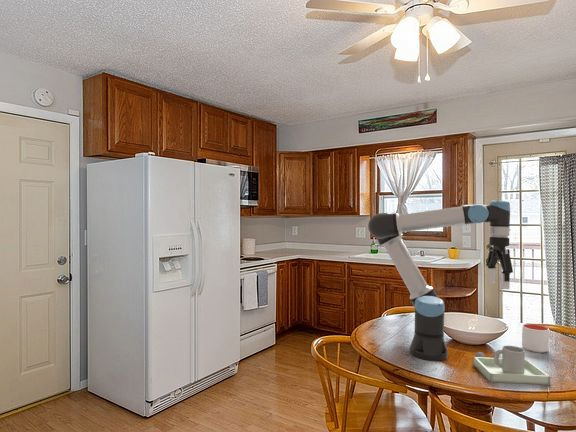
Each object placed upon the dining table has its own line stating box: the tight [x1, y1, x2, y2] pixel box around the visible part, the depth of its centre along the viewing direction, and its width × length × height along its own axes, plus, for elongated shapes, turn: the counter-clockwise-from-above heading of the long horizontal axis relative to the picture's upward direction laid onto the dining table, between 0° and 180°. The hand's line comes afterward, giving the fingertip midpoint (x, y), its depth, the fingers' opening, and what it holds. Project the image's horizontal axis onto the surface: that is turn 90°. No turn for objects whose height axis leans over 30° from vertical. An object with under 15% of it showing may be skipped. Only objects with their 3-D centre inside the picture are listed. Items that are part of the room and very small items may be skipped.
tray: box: [473, 356, 552, 386], centre depth 145 cm, size 20×16×3 cm
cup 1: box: [493, 345, 526, 374], centre depth 146 cm, size 7×10×9 cm
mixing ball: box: [474, 351, 486, 357], centre depth 158 cm, size 4×4×4 cm
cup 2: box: [521, 323, 550, 354], centre depth 173 cm, size 10×10×10 cm
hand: (498, 286), depth 168 cm, fingers open, 13 cm apart
